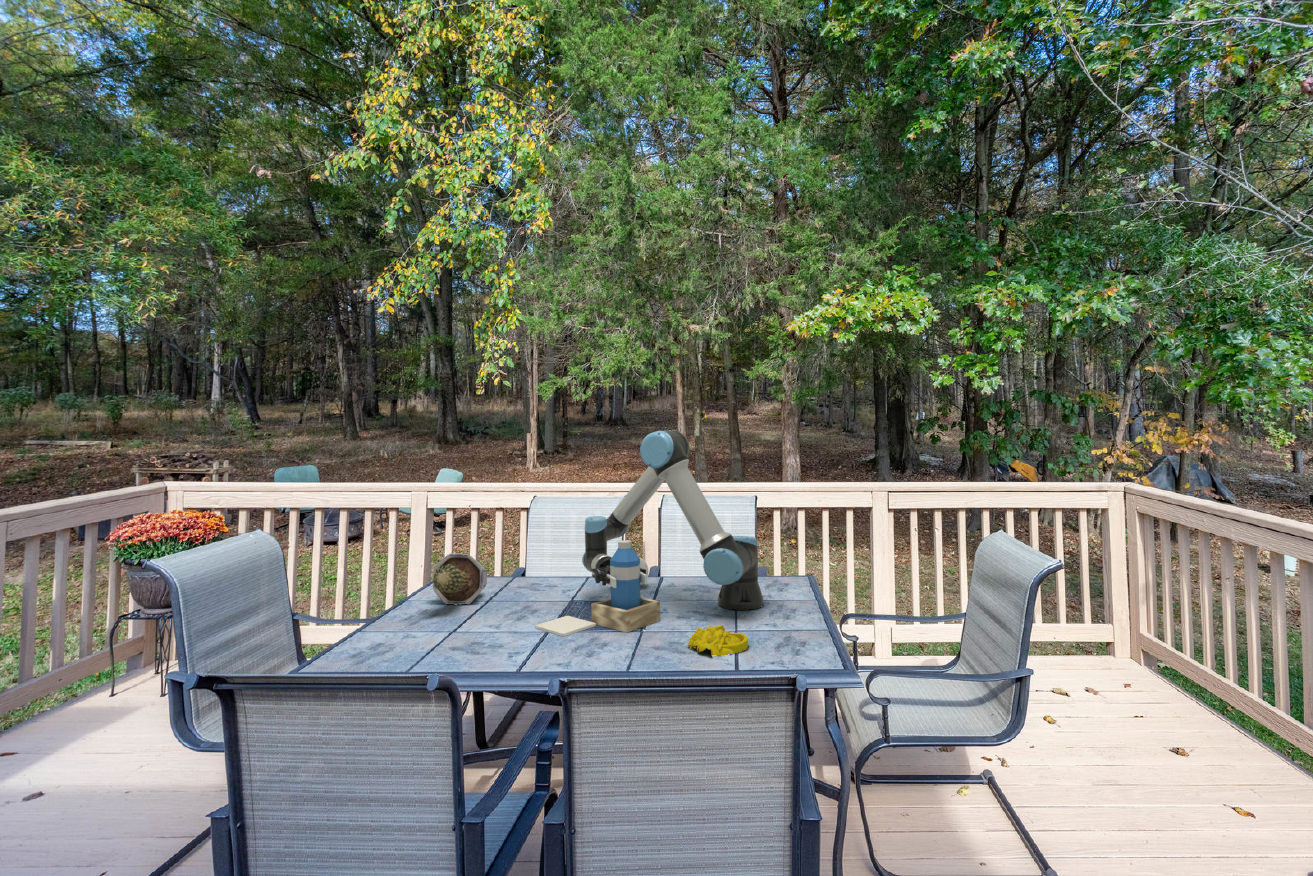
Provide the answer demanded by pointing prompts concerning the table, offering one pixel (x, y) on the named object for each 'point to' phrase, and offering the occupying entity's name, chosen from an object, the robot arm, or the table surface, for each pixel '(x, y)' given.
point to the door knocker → (718, 641)
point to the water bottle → (625, 577)
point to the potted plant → (459, 579)
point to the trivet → (565, 625)
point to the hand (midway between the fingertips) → (630, 581)
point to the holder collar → (625, 615)
